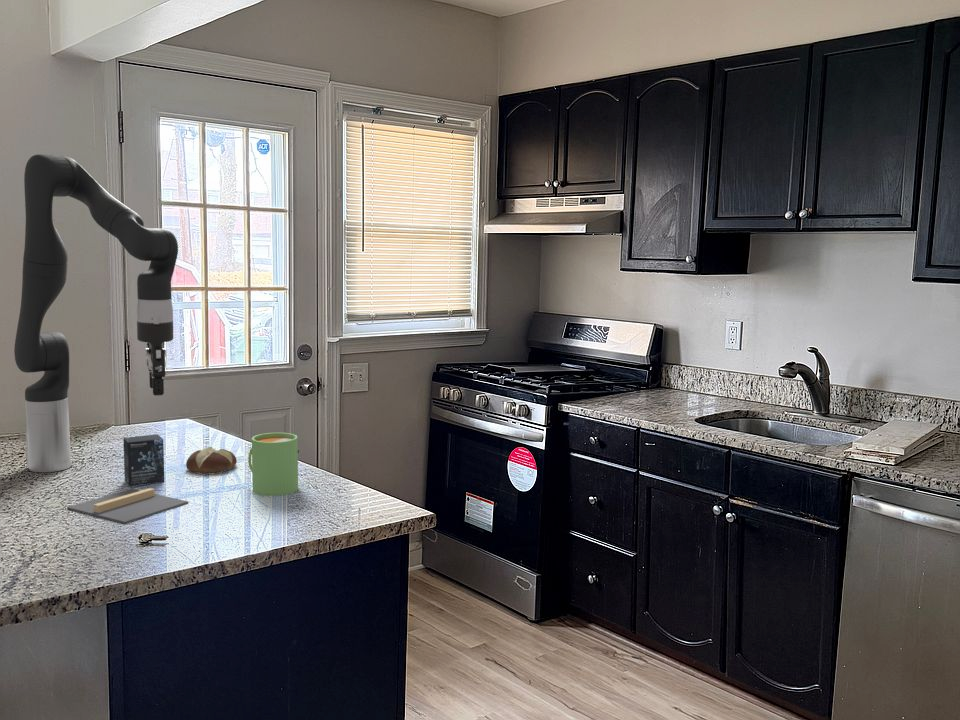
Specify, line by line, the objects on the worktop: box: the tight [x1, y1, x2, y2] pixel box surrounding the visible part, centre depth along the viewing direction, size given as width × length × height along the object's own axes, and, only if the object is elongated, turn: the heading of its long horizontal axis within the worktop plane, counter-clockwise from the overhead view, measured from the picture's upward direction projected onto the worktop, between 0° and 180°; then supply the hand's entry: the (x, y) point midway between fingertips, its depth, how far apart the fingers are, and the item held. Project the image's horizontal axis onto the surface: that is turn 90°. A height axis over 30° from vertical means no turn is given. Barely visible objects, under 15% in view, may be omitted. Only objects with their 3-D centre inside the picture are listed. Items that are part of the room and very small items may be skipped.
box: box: [122, 433, 165, 488], centre depth 200 cm, size 8×6×11 cm
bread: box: [185, 446, 238, 474], centre depth 213 cm, size 11×11×5 cm
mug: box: [247, 432, 300, 497], centre depth 197 cm, size 13×10×12 cm
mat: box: [66, 487, 189, 525], centre depth 183 cm, size 18×16×2 cm
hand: (156, 391), depth 193 cm, fingers open, 8 cm apart
